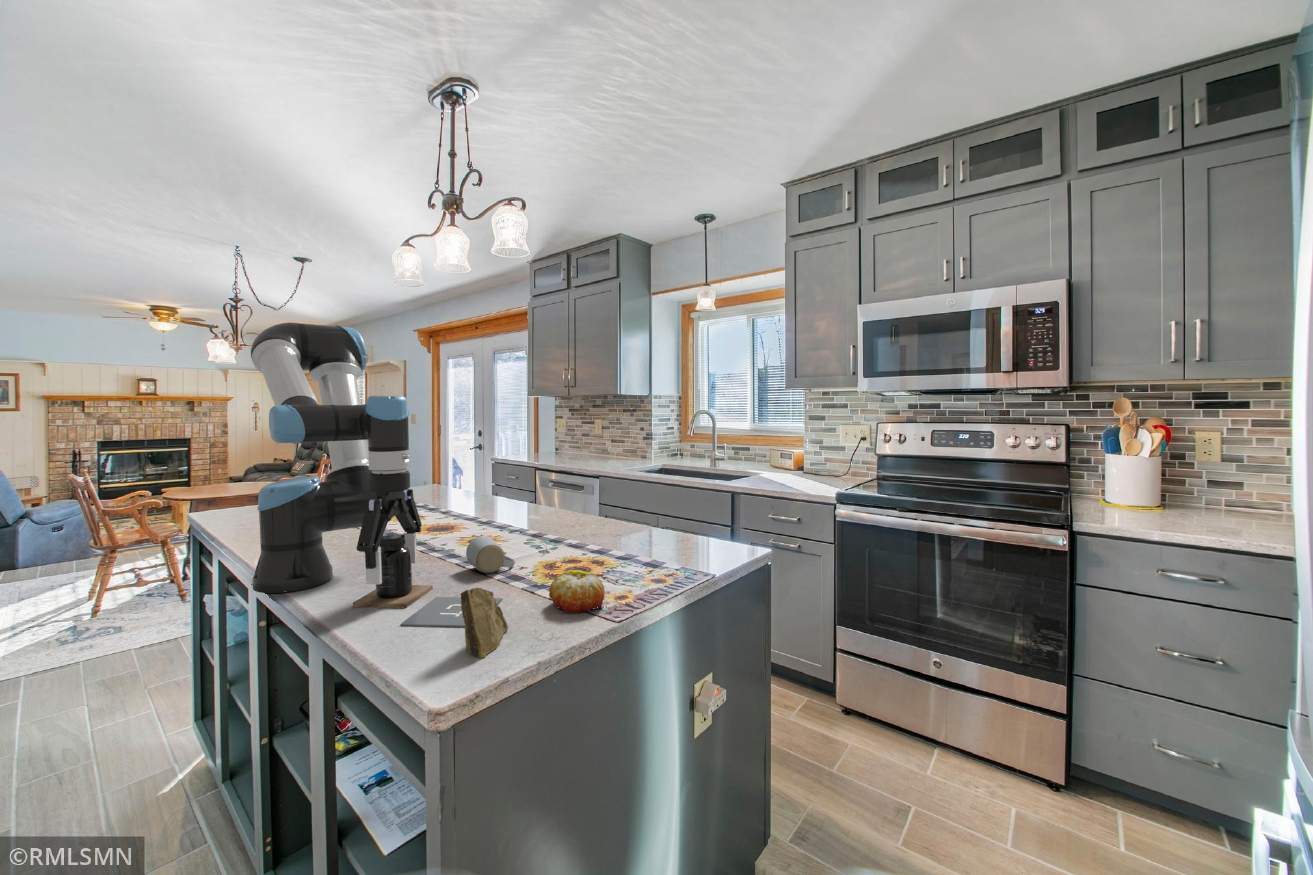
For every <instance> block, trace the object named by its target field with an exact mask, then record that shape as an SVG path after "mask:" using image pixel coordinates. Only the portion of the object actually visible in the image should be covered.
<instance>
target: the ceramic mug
mask: <svg viewBox="0 0 1313 875" xmlns="http://www.w3.org/2000/svg"><path fill="white" fill-rule="evenodd" d="M465 551H466V552H465V556H466V560H467V562H469V564H470V565H471V566H472V567H474V568H475V569H477V570H478V571H479V572H480V573H484V574H493V573H496V572H497V571H499V570H500V569H502V567H507V568H514V566H515V563H516V561H515V560H514V559H513V558H511V557H510V556H507V555H506V554H505V552H504V550H503V548H502V546H500V545H499V543H497V542H496V541H495V540H494V539H493V538H492V537H489V536H486V535H480V536H478V537H474V538H473V539H472V540H471V541H470V542H469V543H468V545H467V546H466V550H465Z"/></svg>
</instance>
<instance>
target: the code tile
mask: <svg viewBox="0 0 1313 875" xmlns="http://www.w3.org/2000/svg"><path fill="white" fill-rule="evenodd" d="M494 599H495V601H496V603H497V606H499V604H500V603H501V602H502V601H503V600H504V598H502V597H494ZM400 626H402V627H406V626H407V627H409V626H410V627H441V628H442V627H445V628H446V627H447V628H448V627H449V628H450V627H451V628H465V624H464V619H463V615H462V609H461V596H460V597H459V596H457V597H456V596H435V597H434V598H433V599H431V600H430V601H429V602H428V603H426V604H425V605H424V606H422V607H421V608H420V609H418V610H417V611H416V612H414V613H413V614H411V615H410V616H409V617H407V619H405V620H404V621H402V622H401V623H400Z"/></svg>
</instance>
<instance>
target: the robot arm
mask: <svg viewBox="0 0 1313 875" xmlns="http://www.w3.org/2000/svg"><path fill="white" fill-rule="evenodd" d="M250 357H251V358H250V359H251V360H252V364H253V366H254V367H255V368H256V370H258V371H259V372H260V373H261V374H262V375H263V378H264V381H265V383H266V386H267V388H268V391H269V394H270V396H271V399H272V401H273V406H272V407H271V408H270V410H269V412H268V428H269V433H270V438H271V439H272V440H273V442H275V443H277V444H293V445H298V444H304V443H323V442H327V447H328V454H329V458H330V464H331V466H330V467H331V470H329V472H328V473H327V474H326V476H325V479H326V481H321V479H320V477H319V476H317V475H309V476H298V477H293V478H288V479H283V480H279V481H275V482H272V483H269V484H266V485H264V486H262V488H261V489H260V490H259V491H258V496H257V497H258V498H257V499H258V501H257V503H258V504H257V511H258V517H259V540H260V555H259V558H258V561H257V564H256V567H255V570H254V574H253V577H252V590H253V591H254V592H257V593H262V594H281V593H285V592H284V591H291V592H296V591H298V592H299V591H302V590H307V589H312V588H314V587H317V586H320V585H323V584H325V583H327V582H329V581H330V580H331V579H333V577H334V574H333V573H334V571H333V566H332V565H333V564H331V563H330V562H331V561H330V559H329V556H328V554H327V552H326V550H325V547H324V544H323V533H326V532H333V531H334V532H335V531H340V530H348V529H355V528H360V531H359V537H358V540H357V543H356V551H357V552H359V553H360V552H361V553H362V552H363V553H364V560H365V562H364V563H365V564H364V565H365V579H366V580H365V581H366V584H367V585H376V584H381V583H382V569H381V550H380V549H379V548H380V547H379V545H380V542H381V539H382V537H383V536H384V534H385V531H386V528H387V527H388V526H387V525H388V523H389V522H390V521H392V519H393V518H394V517H395V518H396V519H397V521H398V522H399V524H400V526H401V528H402V529H403V531H404V532H403V533H402V534H403V535H405V541H406V544H405V545H404V546H405V547H407V548H408V549H409V550H410V551H411V564H416V563H417V562H418V560H417V558H418V557H417V533H421V532H422V525H423V524H422V521H421V518H420V514H419V511H418V508H417V506H416V501H415V498H414V490H413V489H412V488H411V472H409V470H408V469H409V468H410V459H411V455H410V452H409V450H410V446H409V445H410V444H409V442H410V439H409V438H410V437H409V434H410V433H409V414H410V412H409V407H408V400H407V398H406V397H405V396H403V395H369V396H368V397H367V398H366V404H365V403H361V399H360V393H359V388H358V379H359V378H360V377H361V376H362V371H364V370H365V369H366V367H367V364H368V362H367V361H368V359H367V358H368V357H367V348H366V344H365V340H364V338H363V336H362V335H361V333H360V332H359V330H356V329H355V328H352V327H350V326H349V327H348V326H342V325H326V324H325V325H322V324H311V323H301V322H300V323H298V322H282V323H278V324H275V325H272V326H270V327H268V328H266V329H264V330H262V331H261V332H260V333H259V334H258V335H257V336H256V337H255V338H254V340H253V342H252V344H251V348H250ZM304 371H309V372H308V373H309V376H310V377H309V378H310V379H311V381H314V382H315V383H317V384H318V388H319V395H320V402H321V404H319V402H318V400H317V397H316V395H315V394H314V393H315V392H314V391H313V389H312V386H311V385H310V383H309V381H308V379H307V377H306V374H305V372H304Z"/></svg>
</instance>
